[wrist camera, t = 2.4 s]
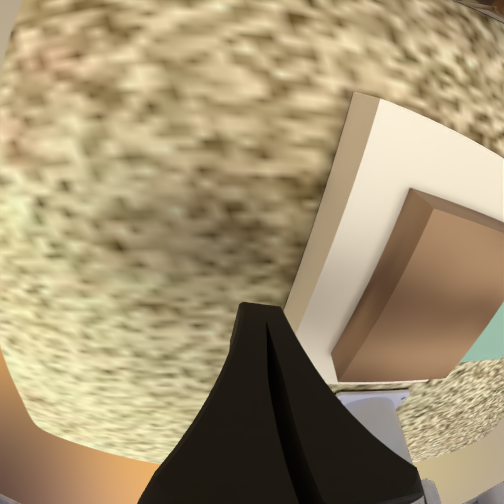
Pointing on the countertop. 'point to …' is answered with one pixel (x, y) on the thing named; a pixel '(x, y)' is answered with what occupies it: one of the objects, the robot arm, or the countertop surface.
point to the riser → (378, 211)
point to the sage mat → (489, 340)
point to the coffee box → (487, 7)
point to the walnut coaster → (425, 294)
